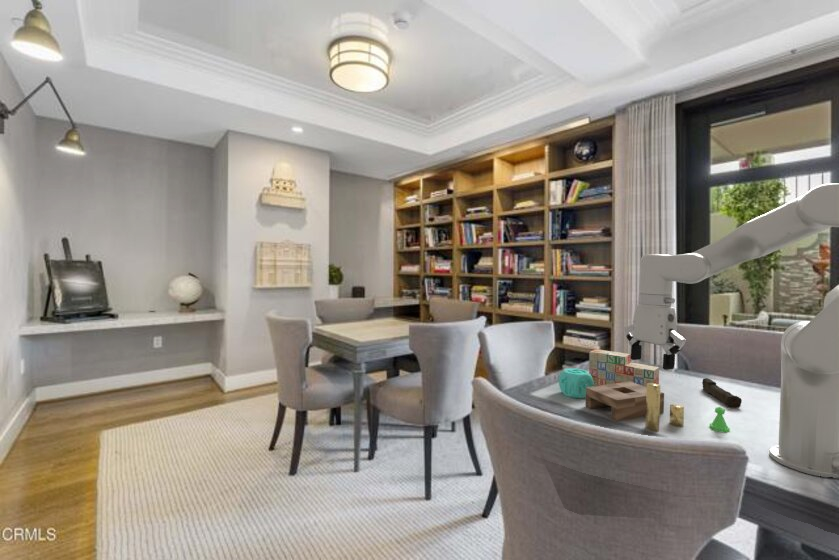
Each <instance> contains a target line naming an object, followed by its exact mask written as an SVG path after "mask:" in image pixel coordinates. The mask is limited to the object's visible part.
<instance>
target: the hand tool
mask: <svg viewBox="0 0 839 560" xmlns="http://www.w3.org/2000/svg"><path fill="white" fill-rule="evenodd" d="M701 383H702V390H703V391H704V392H705V393H706V394H707V393H708V395H712V396H713V397H715V398H717V399H718V400H720V401H721V402H723V403H724V404H725V405H726V407H727V408H729V409H730V408H731V409H738V408H741V405H742V398H741V397H740V396H737V395H734V394H733V393H731V392H729V391H727V390H725V389H723V388H722V387H720V386H718V385H717V382H715V381H713V380H712V379H709V378H707V377H705V378H704V377H703V379H702V382H701Z"/></svg>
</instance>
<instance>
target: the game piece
mask: <svg viewBox="0 0 839 560" xmlns="http://www.w3.org/2000/svg"><path fill="white" fill-rule="evenodd" d="M714 413H716V414H717V415H716V416H715V418H714V419H713V421H712V422H710V423H709V428H710V429H711V430H714V431H716V432H720V433H721V432H722V433H728V432H730V430H731V428H730V427H729V426H728V425H727V422H726V420H725V417H724V415H725V413H726V409H724V408H722V407H721V406H717V407H715V408H714Z"/></svg>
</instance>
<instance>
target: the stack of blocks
mask: <svg viewBox="0 0 839 560" xmlns="http://www.w3.org/2000/svg"><path fill="white" fill-rule="evenodd" d="M588 354H589V359H588V360H589V361H588V364H589V365H588V368H589V371H588V373H589V374H590V375H591V377H592V379H593V383H594V386H597V385H598V386H600V385H607V384H615V383H622V382H633V383H636V384H639V385H642V386H645V387H646V384H647V383H656V384H659V385H660V378H659V377H660V367H659V366H653V365H647V364H641V363H638V362H637V363H635V362H631V361H632V360H631V353H625V352H619V351H611V350H610V351H609V350H604V349H598V348H597V349H596V348H595V349H593V350H590V351H589V353H588Z"/></svg>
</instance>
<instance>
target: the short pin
mask: <svg viewBox="0 0 839 560" xmlns="http://www.w3.org/2000/svg"><path fill="white" fill-rule="evenodd" d="M684 415H685V407H684V406H683V405H680V404H676V403H675V404H674V403H672V404H670V405H669V424H670V425H672V426H675V427H684V423H685V421H684V419H685V418H684V417H685V416H684Z"/></svg>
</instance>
